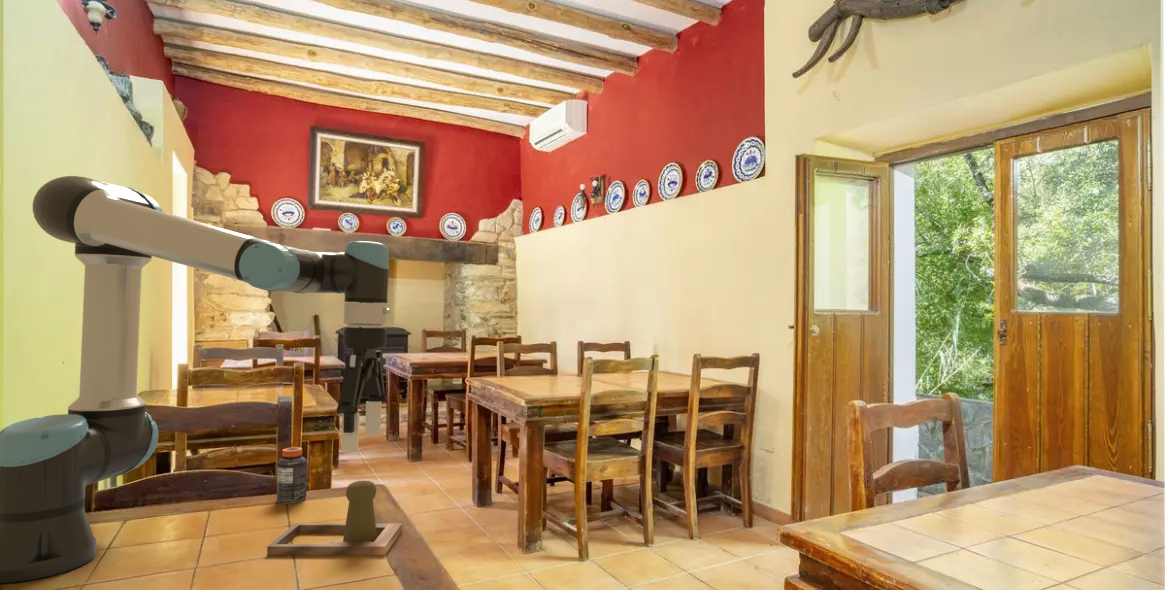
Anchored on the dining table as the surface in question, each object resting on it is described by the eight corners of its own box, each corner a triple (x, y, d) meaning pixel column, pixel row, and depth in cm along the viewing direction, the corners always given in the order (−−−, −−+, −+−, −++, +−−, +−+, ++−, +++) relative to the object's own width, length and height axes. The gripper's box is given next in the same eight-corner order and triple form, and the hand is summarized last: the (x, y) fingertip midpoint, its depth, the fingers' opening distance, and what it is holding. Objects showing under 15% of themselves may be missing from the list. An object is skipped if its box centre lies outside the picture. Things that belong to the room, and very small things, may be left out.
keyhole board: (267, 555, 110) (267, 546, 110) (295, 531, 122) (295, 523, 122) (384, 555, 111) (385, 546, 111) (401, 531, 123) (402, 523, 123)
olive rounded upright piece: (366, 550, 113) (367, 487, 113) (335, 547, 114) (336, 485, 114) (383, 538, 119) (385, 478, 119) (354, 535, 120) (355, 476, 120)
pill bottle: (301, 494, 146) (302, 444, 146) (309, 500, 141) (310, 449, 141) (273, 499, 142) (274, 447, 142) (280, 505, 137) (282, 452, 138)
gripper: (365, 328, 105) (361, 458, 105) (402, 325, 130) (399, 430, 129) (319, 327, 105) (315, 458, 104) (365, 324, 130) (362, 429, 129)
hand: (361, 443), depth 117 cm, fingers open, 13 cm apart
